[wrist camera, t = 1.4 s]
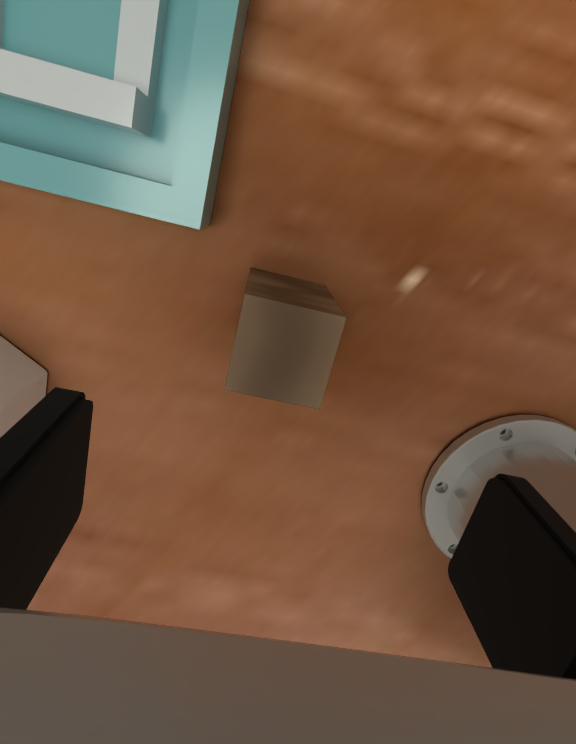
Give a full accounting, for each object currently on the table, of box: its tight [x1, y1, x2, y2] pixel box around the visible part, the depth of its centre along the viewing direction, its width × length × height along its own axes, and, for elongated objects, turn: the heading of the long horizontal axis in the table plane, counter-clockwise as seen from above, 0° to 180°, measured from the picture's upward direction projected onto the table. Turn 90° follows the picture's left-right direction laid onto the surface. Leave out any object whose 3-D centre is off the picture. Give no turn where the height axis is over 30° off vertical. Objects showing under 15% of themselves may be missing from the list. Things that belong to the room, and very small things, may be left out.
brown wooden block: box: [224, 268, 347, 410], centre depth 24 cm, size 4×4×8 cm
